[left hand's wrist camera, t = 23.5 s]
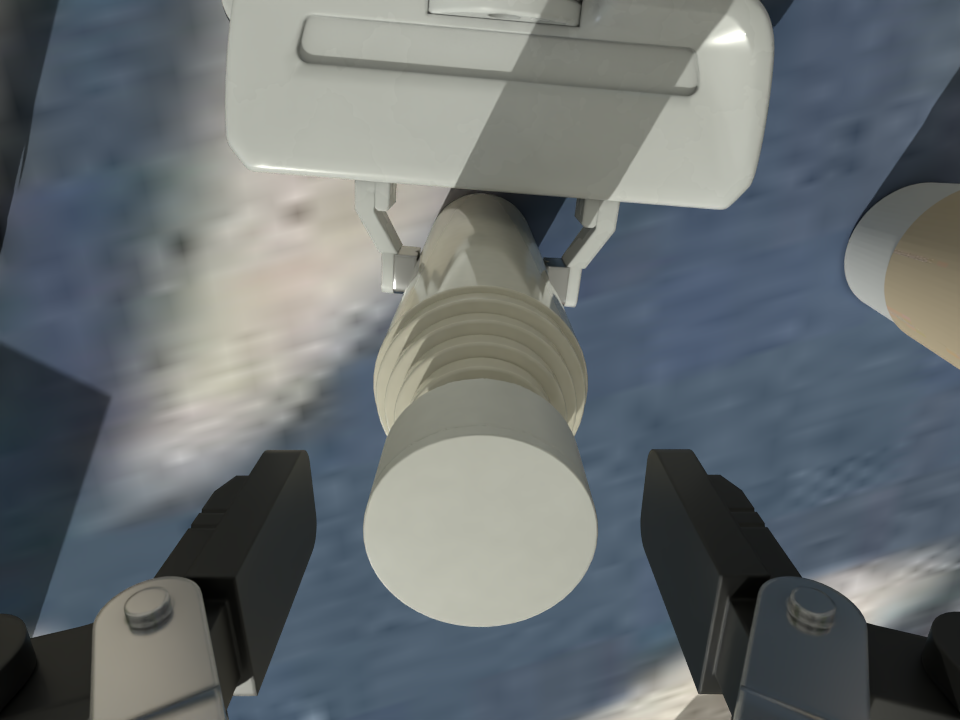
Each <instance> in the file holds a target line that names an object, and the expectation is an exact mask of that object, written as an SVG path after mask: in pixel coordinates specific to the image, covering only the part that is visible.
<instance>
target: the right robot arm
mask: <svg viewBox="0 0 960 720" xmlns="http://www.w3.org/2000/svg"><path fill="white" fill-rule="evenodd" d="M222 4H223V8H224V11H225V14H226V16H227V18H228V20H229V21H230V25H229V34H228V45H227V58H226V76H225V129H226V138H227V142H228V144H229V146H230V148H231V149H232V151H233V152H234V153H235V154H236V156H237V157H238V158H239V160H240V161H241V162H242V163H243V165H244V166H245V167H246V168H247V169H248V170H250V171H253V172H263V173H275V174H287V175H300V176H312V177H324V178H336V179H349V180H355V211H356V212H357V214H358V216H359V218H360V220H361V221H362V223H363V225H364V227H365V229H366V230H367V232H368V234H369V236H370V238H371V239H372V241H373V243H374V245H375V246H376V248H377V250H378V252H379V253H382V275H381V288H382V292H385V293H400V294H404V292H405V289H406V287H407V285H408V282H409V280H410V278H411V275H412V273H413V271H414V268H415V266H416V264H417V261H418V259H419V257H420V254H421V248H420V247H410V246H402V243H401V241H400V239H399V237H398V235H397V233H396V231H395V229H394V227H393V225H392V223H391V221H390V219H389V217H388V215H387V213H386V211H387V210H388V209H389V208H390V207H391V206H392V205H393V204H394V203H395V202H396V188H397V183H398V184H410V185H422V186H435V187H447V188H459V189H471V190H484V191H496V192H508V193H521V194H533V195H545V196H557V197H570V198H577V201H576V210H575V217H576V219H577V220H578V221H579V222H580V223H581V224H582V225H583V226H584V227H583V228H582V229H581V231H580V232H579V234H578V235H577V236H576V238H575V239H574V241H573V242H572V243H571V245H570V246H569V247H568V249H567V250H566V252H565V253H564V254H563V256H562V258H548V257H543V260H544V263H545V265H546V267H547V270H548V272H549V274H550V277H551V279H552V282H553V284H554V286H555V289H556V291H557V293H558V296H559V298H560V300H561V303H562V305H563V306H567V307H575V306H576V303H577V300H578V293H579V286H580V279H581V272H582V269H585V268H586V267H587V265H588V264H589V263H590V262H591V260H592V259H593V258H594V257H595V255H596V254H597V253H598V252H599V250H600V249H601V248H602V247H603V245H604V244H605V243H606V241H607V240H608V239H609V238H610V236H611V235H612V234H613V233H614V231H615V228H616V222H617V216H618V210H619V204H620V202H631V203H643V204H656V205H668V206H680V207H692V208H705V209H718V210H722V209H726V208H728V207H729V206H730V205H732V204H733V203H734V202H735V201H736V200H737V199H738V198H739V197H740V196H741V195H742V194H743V193H744V192H745V191H746V190H747V189H748V188H749V187H750V185H751V183H752V181H753V179H754V176H755V172H756V169H757V165H758V161H759V156H760V152H761V147H762V142H763V137H764V132H765V126H766V120H767V114H768V107H769V99H770V92H771V83H772V73H773V63H774V35H773V28H772V24H771V20H770V17H769V15H768V13H767V11H766V9H765V7H764V6H763V4H762V3H761V2H760V1H759V0H222Z"/></svg>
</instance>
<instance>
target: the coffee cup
mask: <svg viewBox="0 0 960 720" xmlns="http://www.w3.org/2000/svg"><path fill="white" fill-rule="evenodd" d="M844 267H845V275H846V279H847V282H848V284H849V286H850V288H851V290H852V292H853V293H854V294H855V295H856V296H857V297H858V298H859V299H860V300H861V301H862V302H864V303H865V304H867V305H868V306H870V307H871V308H873V309H874V310H876V311H878V312H879V313H881V314H882V315H884V316H885V317H887V318H888V319H890V320H891V321H893V322H894V323H895V324H896V325H897V326H898V327H899V328H900V329H901V330H902V331H903V332H904V333H906V334H907V335H909V336H910V337H912V338H913V339H915V340H916V341H918V342H919V343H921V344H922V345H924V346H925V347H927V348H928V349H930V350H931V351H933V352H934V353H936V354H937V355H939V356H940V357H942V358H943V359H945V360H946V361H948V362H949V363H951V364H952V365H954V366H955V367H957V368H958V369H960V184H953V183H919V184H914V185H910V186H907V187H904V188H901V189H899V190H897V191H895V192H893V193H891V194H889V195H888V196H886V197H884V198H883V199H882V200H880V201H879V202H878V203H876V204H875V205H874V206H873V207H872V208H871V209H870V210H869V211H868V212H867V213H866V214H865V215H864V216H863V218H862V219H861V220H860V222H859V223H858V224H857V226H856V228H855V229H854V231H853V233H852V235H851V237H850V240H849V242H848V245H847V249H846V253H845V262H844Z"/></svg>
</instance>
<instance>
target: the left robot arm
mask: <svg viewBox="0 0 960 720" xmlns="http://www.w3.org/2000/svg"><path fill="white" fill-rule="evenodd" d="M641 537H642V543H643V547H644V550H645V553H646V556H647V558H648V561H649V564H650V566H651V569H652V572H653V574H654V577H655V580H656V582H657V585H658V587H659V590H660V593H661V595H662V598H663V601H664V603H665V606H666V609H667V611H668V614H669V617H670V619H671V622H672V625H673V627H674V630H675V633H676V635H677V638H678V641H679V643H680V646H681V649H682V651H683V654H684V657H685V659H686V662H687V665H688V667H689V670H690V673H691V675H692V678H693V681H694V683H695V686H696V689H697V691H698V694H723V695H724V698H725V700H726V703H727V705H728V707H729V710H730V712H731V715H732V717H731V720H960V612H948V613H944V614H942V615H939V616H938V617H937V618H935V620H934V621H933V623H932V626H931V629H930V632H929V634H928V637H924V636H919V635H915V634H911V633H907V632H902V631H898V630H894V629H889V628H885V627H881V626H876V625H873V624H869V623H866V621H865V618H864V616H863V615H862V613H861V612H860V610H859V609H858V608H857V607H856V606H855V605H854V604H853V603H852V602H851V601H850V600H849V599H848V598H847V597H845V596H844V595H842V594H841V593H839V592H838V591H836V590H834V589H833V588H831V587H829V586H826V585H824V584H822V583H819V582H816V581H814V580H810V579H806V578H802V577H801V575H800V574H799V572H798V571H797V569H796V568H795V566H794V565H793V564H792V562H791V561H790V559H789V558H788V556H787V555H786V553H785V552H784V551H783V549H782V548H781V546H780V545H779V543H778V542H777V540H776V539H775V538H774V536H773V535H772V533H771V532H770V530H769V529H768V527H765V523H764V522H763V520H762V519H761V517H760V516H759V514H758V513H757V512H754V507H753V506H752V504H751V503H750V502H749V500H748V499H747V497H746V496H745V494H744V493H743V491H742V490H741V489H739V488H738V487H736V486H735V485H734V484H732V483H731V482H729V481H728V480H727V479H725V478H724V477H722V476H721V475H707V473H706V471H705V470H704V468H703V467H702V465H701V463H700V462H699V460H698V459H697V457H696V455H695V454H694V452H693V451H692V450H690V449H652V450H651V451H650V452H649V455H648V459H647V467H646V476H645V484H644V493H643V501H642V510H641ZM315 538H316V511H315V502H314V494H313V485H312V477H311V469H310V461H309V456H308V453H307V452H306V451H305V450H266V451H265V452H264V453H263V454H262V456H261V457H260V459H259V460H258V462H257V464H256V465H255V467H254V468H253V470H252V471H251V473H250V474H249V476H235V477H234V478H233V479H231V480H230V481H228V482H227V483H226V484H224V485H223V486H221V487H220V488H219V489H217V490H216V491H214V493H213V494H212V496H211V497H210V499H209V500H208V501H207V503H206V504H205V506H204V507H203V509H202V513H199V514H198V516H197V517H196V519H195V520H194V521H193V523H192V524H191V528H189V529H188V530H187V531H186V533H185V534H184V536H183V537H182V538H181V540H180V541H179V543H178V544H177V546H176V547H175V548H174V550H173V551H172V553H171V554H170V556H169V557H168V558H167V560H166V561H165V563H164V564H163V566H162V567H161V568H160V570H159V571H158V573H157V574H156V576H155V577H154V578H153V579H150V580H146V581H144V582H141V583H138V584H136V585H134V586H131V587H129V588H127V589H126V590H124V591H122V592H121V593H119V594H118V595H116V596H115V597H113V598H112V599H111V600H110V601H109V602H108V603H107V604H106V605H105V606H104V607H103V608H102V609H101V610H100V612H99V613H98V615H97V616H96V618H95V621H94V623H91V624H88V625H85V626H81V627H77V628H73V629H69V630H64V631H60V632H56V633H51V634H47V635H43V636H38V637H34V638H30V637H29V634H28V631H27V629H26V626H25V624H24V622H23V621H22V620H21V619H20V618H18V617H16V616H13V615H9V614H0V720H229V717H228V713H227V708H228V705H229V703H230V701H231V698H232V696H257V695H258V692H259V690H260V687H261V685H262V682H263V679H264V677H265V674H266V672H267V669H268V666H269V664H270V661H271V658H272V656H273V653H274V651H275V648H276V645H277V643H278V640H279V637H280V635H281V632H282V630H283V627H284V624H285V622H286V619H287V617H288V614H289V611H290V609H291V606H292V603H293V601H294V598H295V596H296V593H297V590H298V588H299V585H300V583H301V580H302V577H303V575H304V572H305V569H306V567H307V564H308V562H309V559H310V556H311V554H312V551H313V548H314V544H315Z"/></svg>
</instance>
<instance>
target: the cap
mask: <svg viewBox="0 0 960 720" xmlns="http://www.w3.org/2000/svg"><path fill="white" fill-rule="evenodd" d="M363 534H364V543H365V548H366V552H367V555H368V558H369V560H370V563H371V565H372V567H373V569H374V571H375V573H376V574H377V576H378V577H379V579H380V580H381V581H382V583H383V584H384V585H385V587H386V588H387V589H388V590H389V591H390V592H391V593H392V594H393V595H394V596H396V597H397V598H398V599H399V600H401V601H402V602H403V603H404V604H406V605H407V606H409V607H411V608H412V609H414V610H416V611H417V612H420V613H422V614H424V615H426V616H428V617H431V618H434V619H437V620H440V621H442V622H447V623H451V624H456V625H463V626H476V627H487V626H499V625H505V624H510V623H515V622H518V621H522V620H525V619H528V618H530V617H533V616H535V615H538V614H540V613H542V612H543V611H545V610H547V609H549V608H551V607H552V606H554V605H555V604H557V603H558V602H559V601H561V600H562V599H563V598H564V597H566V596H567V595H568V594H569V593H570V592H571V591H572V590H573V589H574V588H575V587H576V585H577V584H578V583H579V582H580V581H581V579H582V578H583V576H584V574H585V573H586V571H587V570H588V567H589V565H590V563H591V561H592V559H593V556H594V552H595V549H596V545H597V536H598V521H597V515H596V510H595V506H594V503H593V499H592V496H591V492H590V489H589V485H588V482H587V478H586V475H585V472H584V468H583V465H582V461H581V458H580V454H579V451H578V447H577V444H576V441H575V438H574V436H573V433H572V431H571V429H570V427H569V426H568V424H567V422H566V421H565V419H564V418H563V417H562V415H561V414H560V413H559V412H558V411H557V410H556V409H555V408H554V407H553V406H552V405H551V404H550V403H549V402H548V401H546V400H545V399H544V398H542V397H541V396H539V395H538V394H536V393H534V392H532V391H531V390H529V389H526V388H524V387H522V386H520V385H517V384H514V383H509V382H505V381H500V380H493V379H487V378H485V379H484V378H480V379H468V380H461V381H454V382H450V383H447V384H445V385H443V386H440V387H437V388H435V389H433V390H431V391H429V392H427V393H425V394H423V395H422V396H420V397H419V398H418V399H416V400H415V401H414V402H412V403H411V404H410V405H409V406H408V407H407V408H406V409H405V410H404V411H403V412H402V413H401V414H400V416H399V417H398V418H397V419H396V421H395V423H394V424H393V426H392V427H391V429H390V432H389V434H388V436H387V438H386V442H385V445H384V448H383V452H382V455H381V459H380V462H379V466H378V469H377V473H376V476H375V479H374V483H373V486H372V490H371V494H370V497H369V500H368V504H367V507H366V511H365V515H364V524H363Z"/></svg>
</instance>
